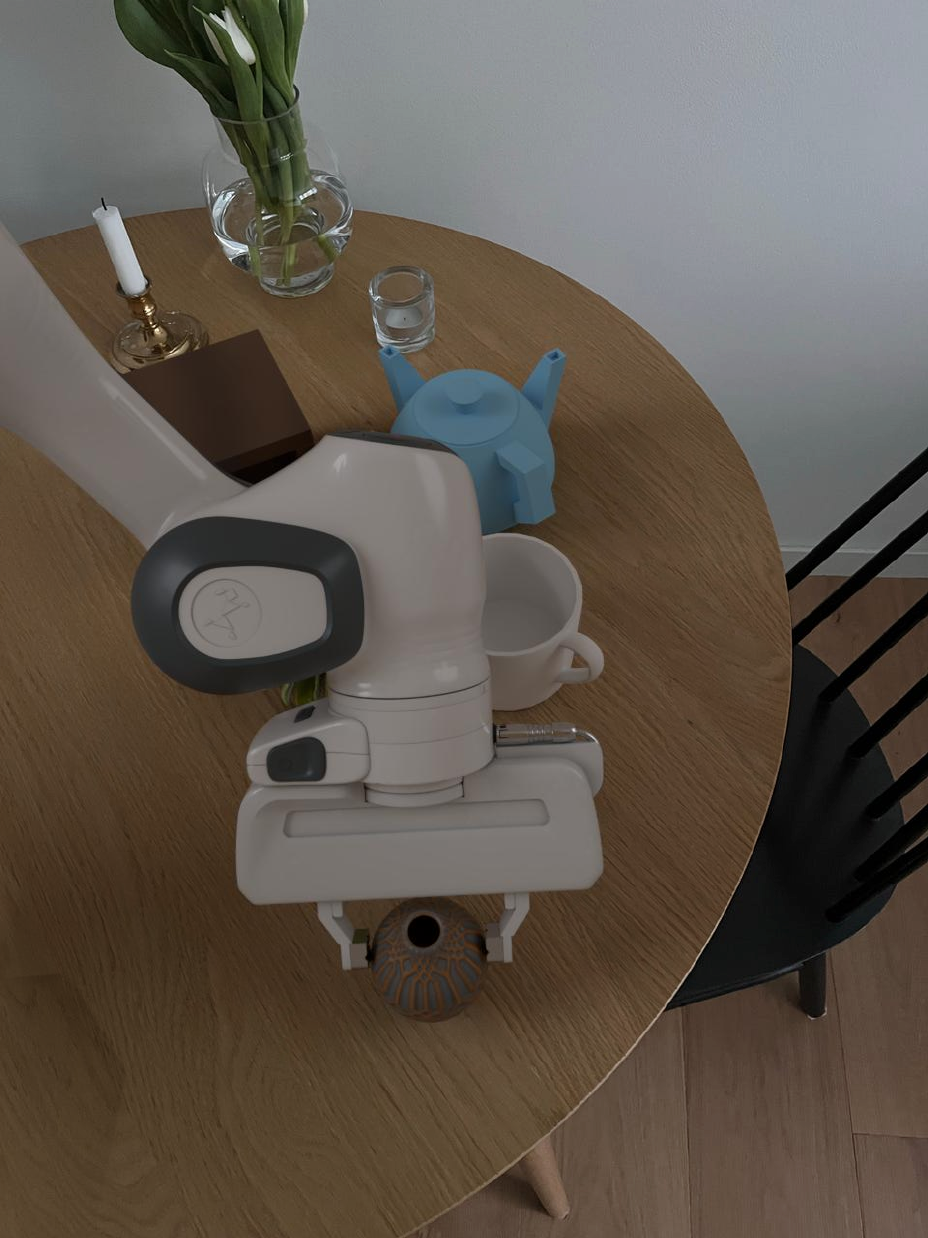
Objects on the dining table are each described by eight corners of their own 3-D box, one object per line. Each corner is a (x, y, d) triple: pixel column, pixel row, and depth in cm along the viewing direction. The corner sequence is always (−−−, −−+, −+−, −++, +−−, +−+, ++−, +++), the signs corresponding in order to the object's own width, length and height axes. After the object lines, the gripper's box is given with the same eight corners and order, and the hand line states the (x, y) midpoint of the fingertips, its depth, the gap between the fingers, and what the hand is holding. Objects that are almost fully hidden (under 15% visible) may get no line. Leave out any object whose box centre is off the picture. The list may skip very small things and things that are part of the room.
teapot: (363, 551, 85) (345, 460, 76) (389, 415, 93) (375, 318, 84) (554, 561, 84) (558, 469, 75) (563, 422, 92) (568, 325, 83)
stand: (193, 586, 84) (150, 486, 74) (153, 483, 90) (108, 378, 80) (335, 532, 86) (311, 428, 76) (286, 435, 93) (258, 328, 83)
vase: (382, 918, 67) (366, 868, 60) (491, 920, 67) (488, 870, 59) (372, 1032, 63) (354, 994, 56) (488, 1036, 63) (485, 997, 56)
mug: (407, 663, 79) (397, 602, 72) (496, 574, 83) (494, 508, 77) (550, 766, 74) (554, 710, 67) (637, 665, 78) (649, 603, 71)
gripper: (596, 704, 61) (602, 927, 63) (241, 721, 61) (262, 942, 64) (610, 737, 55) (617, 982, 57) (215, 756, 55) (240, 1000, 58)
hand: (427, 962), depth 61 cm, fingers closed on vase, 7 cm apart
